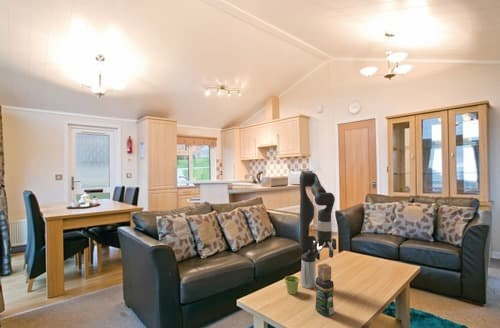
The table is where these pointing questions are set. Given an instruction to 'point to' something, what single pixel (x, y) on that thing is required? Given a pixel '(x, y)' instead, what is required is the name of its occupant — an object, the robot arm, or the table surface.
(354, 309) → the table surface
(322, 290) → the coffee jar
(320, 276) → the walnut block
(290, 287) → the plant pot
